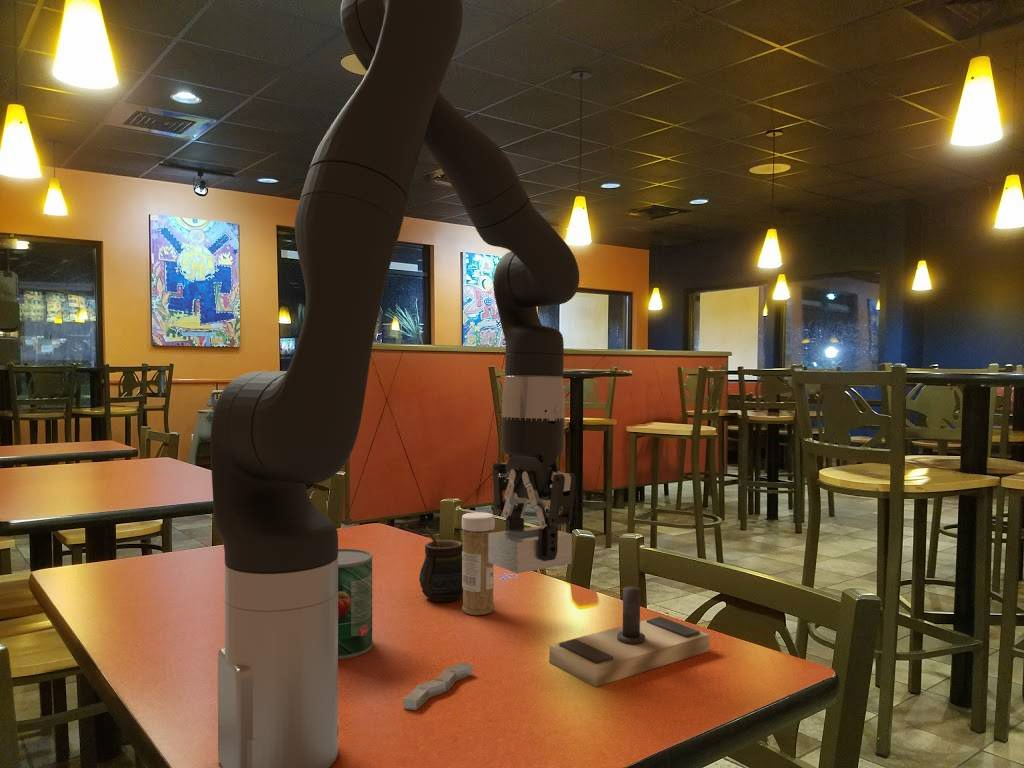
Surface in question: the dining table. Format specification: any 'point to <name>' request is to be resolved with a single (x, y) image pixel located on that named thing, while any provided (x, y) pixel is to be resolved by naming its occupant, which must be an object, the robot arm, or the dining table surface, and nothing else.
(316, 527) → the robot arm
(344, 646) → the canned tomato
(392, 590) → the dining table surface
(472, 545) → the spice jar
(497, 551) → the link
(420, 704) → the slack chain
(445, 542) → the mate gourd
